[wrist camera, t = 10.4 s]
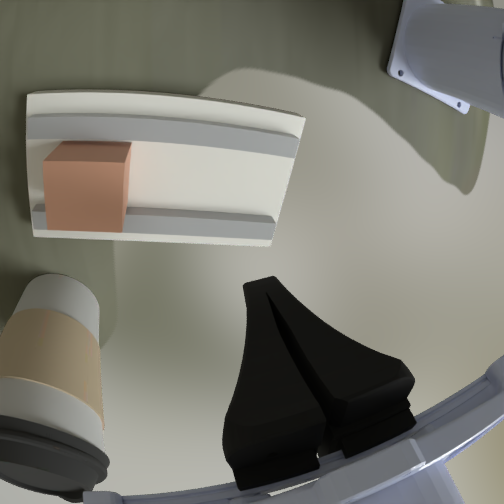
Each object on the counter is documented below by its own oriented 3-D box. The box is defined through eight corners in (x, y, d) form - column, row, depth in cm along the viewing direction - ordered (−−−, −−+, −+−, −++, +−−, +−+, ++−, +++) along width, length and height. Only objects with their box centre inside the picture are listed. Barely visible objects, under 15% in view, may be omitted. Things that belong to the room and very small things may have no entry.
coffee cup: (-6, 296, 20) (-54, 461, 8) (55, 239, 19) (-3, 448, 7) (67, 355, 26) (58, 508, 14) (134, 315, 25) (145, 500, 13)
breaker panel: (296, 113, 19) (313, 121, 17) (264, 235, 23) (274, 255, 22) (36, 91, 14) (20, 97, 12) (40, 225, 18) (29, 245, 16)
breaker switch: (131, 142, 16) (124, 162, 13) (127, 202, 18) (121, 232, 15) (63, 140, 15) (42, 161, 12) (64, 199, 16) (47, 230, 14)
